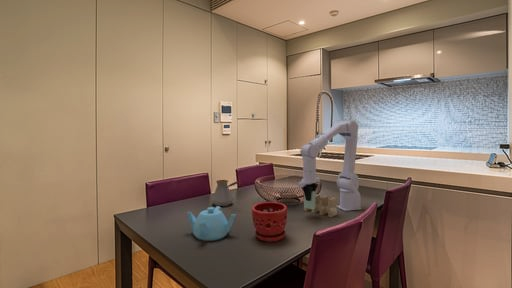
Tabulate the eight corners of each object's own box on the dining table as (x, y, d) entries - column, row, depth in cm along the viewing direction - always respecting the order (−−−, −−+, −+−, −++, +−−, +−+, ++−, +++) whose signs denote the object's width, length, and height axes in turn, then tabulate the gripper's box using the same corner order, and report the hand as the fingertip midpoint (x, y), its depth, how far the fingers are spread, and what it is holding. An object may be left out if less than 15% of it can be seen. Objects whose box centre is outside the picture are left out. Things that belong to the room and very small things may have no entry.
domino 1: (303, 210, 140) (303, 194, 139) (309, 208, 144) (309, 192, 143) (306, 211, 139) (306, 195, 138) (312, 208, 142) (312, 193, 142)
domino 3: (319, 214, 134) (319, 197, 133) (325, 211, 137) (325, 195, 137) (322, 215, 133) (322, 198, 132) (328, 212, 136) (328, 196, 136)
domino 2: (311, 212, 137) (311, 196, 136) (317, 210, 140) (317, 194, 140) (314, 213, 136) (314, 196, 135) (320, 210, 139) (320, 194, 139)
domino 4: (328, 216, 131) (328, 199, 130) (333, 213, 134) (333, 197, 134) (331, 217, 130) (331, 199, 129) (336, 214, 133) (336, 197, 133)
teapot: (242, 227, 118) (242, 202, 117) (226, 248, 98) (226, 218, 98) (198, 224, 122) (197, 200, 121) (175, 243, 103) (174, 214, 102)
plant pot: (254, 230, 114) (253, 201, 114) (287, 231, 113) (286, 201, 112) (250, 244, 101) (249, 211, 101) (287, 245, 100) (287, 211, 99)
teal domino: (306, 206, 132) (305, 189, 132) (315, 208, 129) (315, 191, 128) (304, 207, 131) (303, 190, 131) (313, 209, 128) (313, 192, 127)
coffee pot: (207, 204, 153) (207, 176, 152) (225, 200, 160) (225, 174, 159) (230, 213, 136) (229, 182, 135) (248, 209, 144) (248, 179, 143)
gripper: (310, 167, 137) (310, 195, 138) (292, 171, 127) (292, 201, 127) (323, 169, 132) (323, 198, 133) (306, 173, 122) (306, 204, 123)
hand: (309, 200), depth 130 cm, fingers closed on teal domino, 1 cm apart
